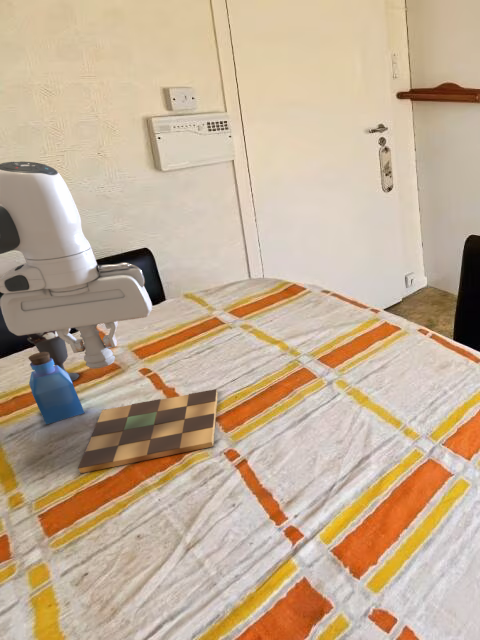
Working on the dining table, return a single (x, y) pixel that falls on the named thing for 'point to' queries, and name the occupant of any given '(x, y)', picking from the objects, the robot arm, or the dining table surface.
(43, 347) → the sundae
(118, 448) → the chessboard
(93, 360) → the rook chess piece
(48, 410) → the perfume bottle
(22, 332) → the robot arm
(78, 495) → the dining table surface
